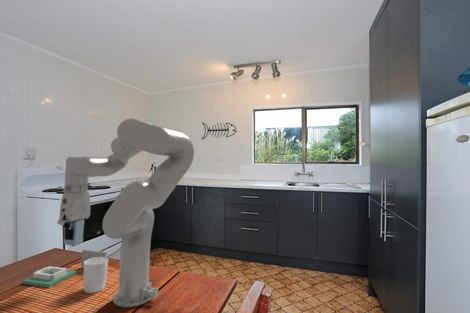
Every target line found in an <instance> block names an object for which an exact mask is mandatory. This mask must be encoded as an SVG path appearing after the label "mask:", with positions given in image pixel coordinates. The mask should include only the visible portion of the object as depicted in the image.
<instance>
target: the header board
mask: <svg viewBox="0 0 470 313" xmlns="http://www.w3.org/2000/svg"><path fill="white" fill-rule="evenodd" d="M32 274H33V275H32V276H31V277H28V278H25V279H23V280H22V284H23V285H29V286H36V287H42V288H52V287H53V286H56V285H58V284H61V283H62V282H64V281H65V280H68V279H70V278H72V277H73V276H76V275H78V272H77V270H72V269H71V270H70V269H68V268H65V267H58V266H50V265H48V266H45V267H44V268H41V269H39V270H36V271H35V272H32ZM75 274H76V275H75Z"/></svg>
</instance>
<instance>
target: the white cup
mask: <svg viewBox="0 0 470 313" xmlns="http://www.w3.org/2000/svg"><path fill="white" fill-rule="evenodd" d="M108 266H109V258H108V257H107V258H106V257H95V258H91V259H88V260H86V261H84V268H83V292H84V293H87V294H95V293H99V292H101V291H103V290H104V289H106V282H107V276H108V270H109V269H108Z"/></svg>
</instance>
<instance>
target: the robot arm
mask: <svg viewBox="0 0 470 313" xmlns="http://www.w3.org/2000/svg"><path fill="white" fill-rule="evenodd" d="M116 135H117V137H115V138H114V139H112V141H111V143H110V148H111V152H112V154H110V155H108V156H106V157H105V156H104V157H103V156H89V155H88V156H70V157H69V156H68V157H66V160H65V168H64V169H65V171H64V172H65V175H64V187H63V189H62V190H63V194H62V197H61V202H60V206H59V207H60V208H59V218H58V220H57V221H56V222H57V224H58V225H59V226H62V227H63V229H65V240H73V231H74V229H72V227H73V221H76V220H80V219H84V225H85V223H86V222H87V220H88V219H89V218H90V216H91V198H90V192H89V191H88V190H89V188H88V187H89V178H95V177H109V176H111V175H113V174H114V175H115V173H118V172H119V171H121V170H123V169H124V168H125V167H126V166H127V164H128V163H129V161H130V159H131V158H133V157H135V156H137V155H138V154H140V153H141V152H146V153H150V154H152V155H157V156H166V157H167V158H166V159H165V160H164V161H163V162H161V163H160V164H159V165H158V166H157V167H156V169H155V171H154V172H153V173H152V175H151V176H149V178H148V179H146V180H138V181H137V180H136V181H133V182H131V183H129V184H127V185H126V186H124V187H123V188H122V190H121V191H120V192H119V193H118V195H117V197H115V200H114V201H113V202H112V204H111V205H110V207H109V208H108V210H107V211H106V213H105V215H104V216H103V219H102V226H101V227H102V231H103V233H104V235H105V236H106V237H108V238H110V239H112V240H113V239H114V240H116V239H118V240H120V239H122V240H121V243H120V252H119V274H118V291H117V292H116V293H115V294H113V297H112V302H113V304H114V305H115V306H116V307H120V308H134V307H138V306H142V305H144V304H146V303H148V302H149V301H150V300H151V299H152V298H156V299H157V297H159V296H158V295H159V288H158V287H153V286H152V283H153V282H152V281H150V258H151V257H150V256H151V244H152V243H151V240H152V232H153V229H154V223H155V213H154V209H157V208H160V207H161V206H163V204H164V203H165V202H166V201H167V199H168V198H169V197H170V195H171V193H172V192H173V191H174V190H175V188H176V187H177V185H178V184H179V182H180V181H181V179H182V178H183V177H185V175H186V174H187V172H188V171H189V169H190V168H191V166H192V163H193V161H194V158H195V149H194V145H193V142H192V140H191V138H190V137H189V136H188V135H186V134H184V133H183V132H180V131H177V130H173V129H170V128H166V127H161V126H158V125H154V124H153V123H150V122H148V121H144V120H140V119H136V118H126V119H124V120H123V121H122V122H121V123H120V124H119V125H118V127H117V129H116ZM68 222H69V224H68Z"/></svg>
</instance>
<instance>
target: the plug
mask: <svg viewBox="0 0 470 313" xmlns="http://www.w3.org/2000/svg"><path fill="white" fill-rule="evenodd" d="M68 224H69V222H68ZM84 227H85V224H84V219H80V220H76V221H73V227H72V229H74V231H73V240H65V229H64V228H63V229H64V231H63V232H64V234H63V245H65V246H77V245H81V244H83V243H84V230H85V229H84Z"/></svg>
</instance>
